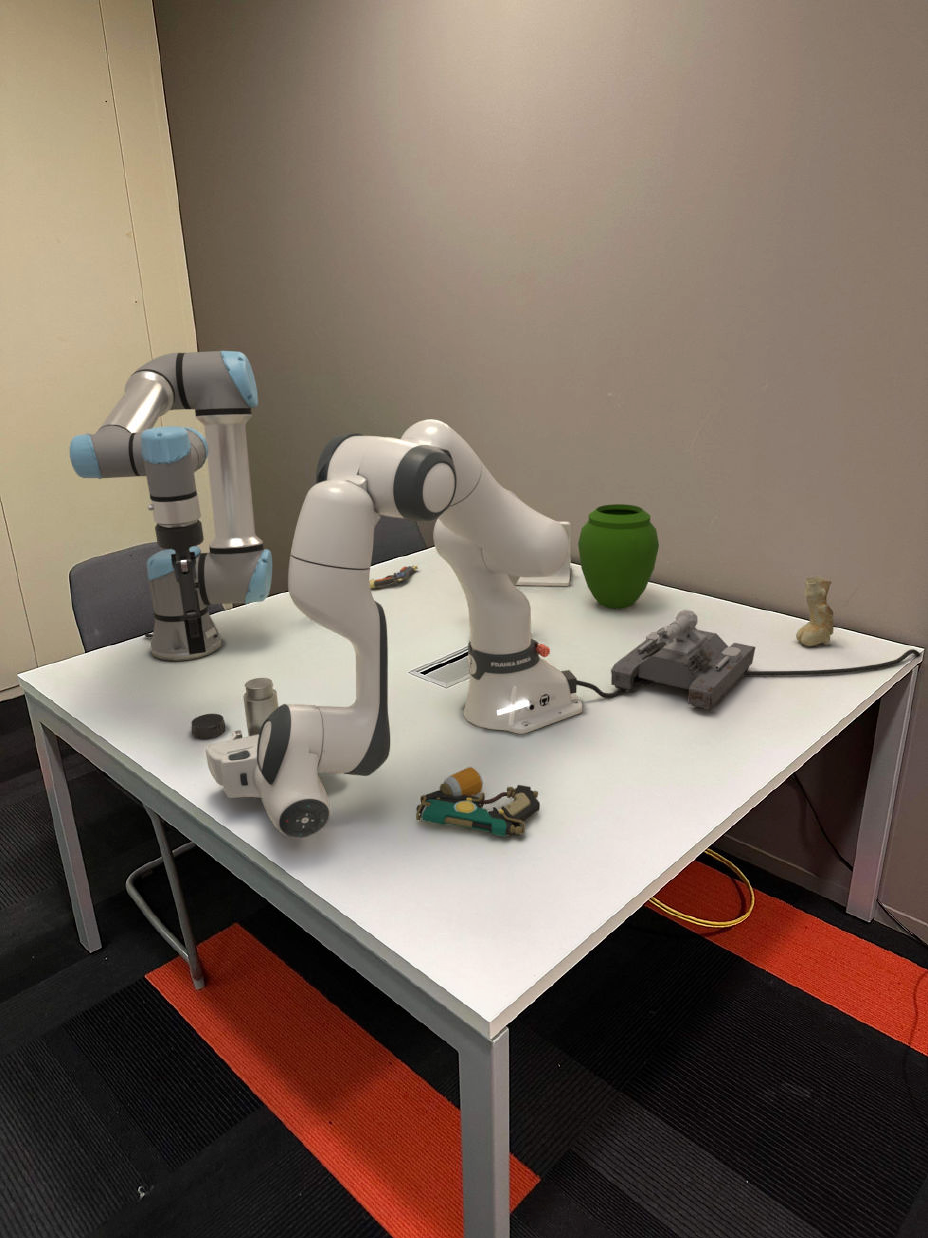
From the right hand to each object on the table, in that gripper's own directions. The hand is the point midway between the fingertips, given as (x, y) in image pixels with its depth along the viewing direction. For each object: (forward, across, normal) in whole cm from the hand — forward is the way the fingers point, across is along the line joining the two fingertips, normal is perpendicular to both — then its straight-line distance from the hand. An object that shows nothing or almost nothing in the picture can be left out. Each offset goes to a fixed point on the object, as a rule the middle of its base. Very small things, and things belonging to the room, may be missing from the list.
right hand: (263, 729), depth 143 cm
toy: (-5, -83, +6) cm, 83 cm away
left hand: (+17, +7, -12) cm, 22 cm away
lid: (+16, +8, +5) cm, 18 cm away
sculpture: (-2, -120, +6) cm, 120 cm away
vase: (+40, -95, +7) cm, 103 cm away
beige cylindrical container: (-1, 0, +6) cm, 7 cm away
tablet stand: (+72, -86, +7) cm, 113 cm away
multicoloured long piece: (+86, -52, +7) cm, 101 cm away
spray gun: (-30, -26, +6) cm, 40 cm away
